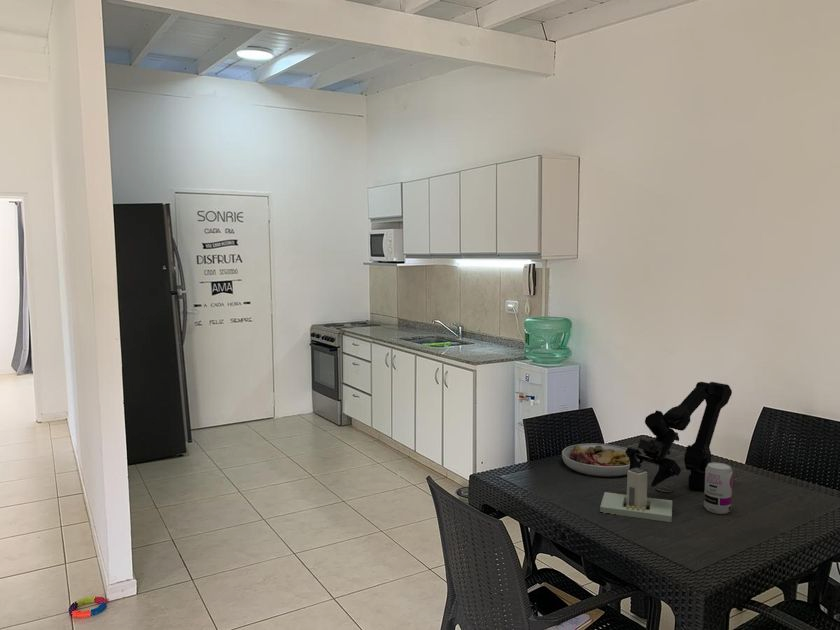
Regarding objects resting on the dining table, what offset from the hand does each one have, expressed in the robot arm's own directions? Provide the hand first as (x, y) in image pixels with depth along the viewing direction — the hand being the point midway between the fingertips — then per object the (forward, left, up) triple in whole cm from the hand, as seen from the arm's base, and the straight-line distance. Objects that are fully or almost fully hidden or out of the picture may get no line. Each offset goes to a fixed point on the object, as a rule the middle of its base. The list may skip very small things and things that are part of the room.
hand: (640, 482), depth 225 cm
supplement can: (-24, -8, -9) cm, 27 cm away
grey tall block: (+1, +1, -9) cm, 9 cm away
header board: (+1, +1, -9) cm, 9 cm away
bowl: (+17, -40, -10) cm, 44 cm away
